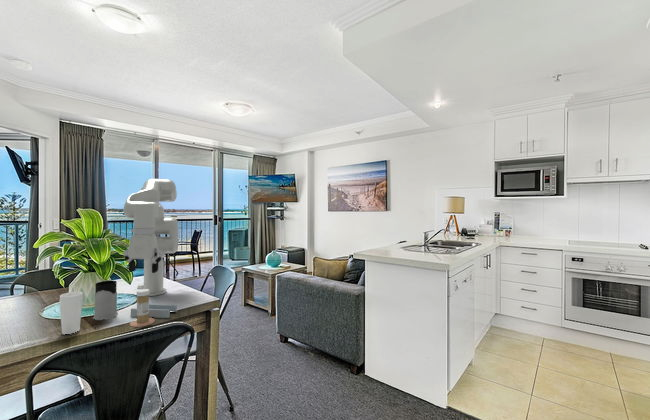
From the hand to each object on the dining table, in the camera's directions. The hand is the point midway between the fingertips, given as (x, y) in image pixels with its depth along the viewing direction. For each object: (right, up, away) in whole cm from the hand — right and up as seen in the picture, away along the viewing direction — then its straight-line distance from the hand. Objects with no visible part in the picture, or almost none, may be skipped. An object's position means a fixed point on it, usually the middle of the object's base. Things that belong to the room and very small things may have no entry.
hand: (143, 271), depth 123 cm
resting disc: (-1, -22, 0) cm, 22 cm away
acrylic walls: (-1, -22, +9) cm, 23 cm away
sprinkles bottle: (-1, -22, 0) cm, 22 cm away
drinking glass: (-22, -22, -11) cm, 32 cm away
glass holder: (-21, -21, +8) cm, 31 cm away
